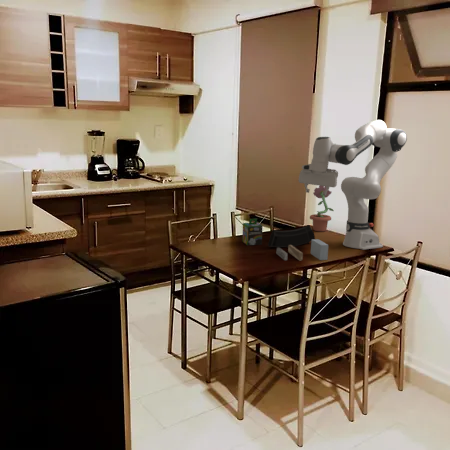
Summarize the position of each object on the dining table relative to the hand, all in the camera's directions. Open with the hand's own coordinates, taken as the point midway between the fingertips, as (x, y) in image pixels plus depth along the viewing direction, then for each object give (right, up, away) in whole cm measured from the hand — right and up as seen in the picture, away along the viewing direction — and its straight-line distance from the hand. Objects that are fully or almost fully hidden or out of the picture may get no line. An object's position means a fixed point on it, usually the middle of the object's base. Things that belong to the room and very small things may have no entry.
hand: (315, 193), depth 249 cm
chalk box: (-33, -28, +22) cm, 48 cm away
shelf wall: (-11, -33, -2) cm, 35 cm away
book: (+1, -34, -2) cm, 34 cm away
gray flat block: (-19, -33, -4) cm, 38 cm away
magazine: (-10, -29, +18) cm, 36 cm away
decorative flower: (+14, -20, +57) cm, 62 cm away
